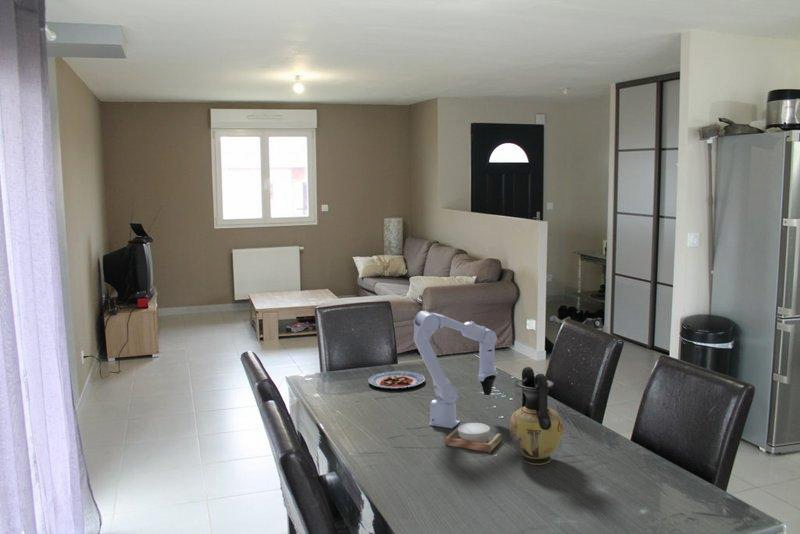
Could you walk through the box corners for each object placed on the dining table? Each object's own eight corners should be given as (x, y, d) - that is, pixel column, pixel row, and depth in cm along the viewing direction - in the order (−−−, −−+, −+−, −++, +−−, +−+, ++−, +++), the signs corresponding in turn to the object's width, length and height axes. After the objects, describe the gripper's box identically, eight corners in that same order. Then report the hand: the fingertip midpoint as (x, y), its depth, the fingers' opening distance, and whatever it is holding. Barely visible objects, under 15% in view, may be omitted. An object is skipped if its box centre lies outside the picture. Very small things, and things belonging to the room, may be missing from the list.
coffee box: (532, 430, 253) (532, 387, 251) (514, 429, 254) (514, 386, 252) (533, 421, 262) (532, 380, 260) (515, 420, 263) (515, 379, 261)
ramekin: (451, 443, 243) (451, 428, 242) (470, 434, 251) (470, 420, 250) (477, 451, 235) (477, 436, 234) (496, 441, 243) (496, 427, 243)
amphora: (499, 454, 231) (498, 367, 227) (542, 445, 238) (541, 360, 234) (529, 474, 215) (529, 380, 211) (574, 464, 222) (574, 373, 218)
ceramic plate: (425, 391, 303) (425, 385, 302) (366, 392, 303) (366, 386, 303) (424, 375, 328) (424, 369, 328) (370, 376, 329) (369, 370, 329)
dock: (445, 444, 241) (445, 437, 241) (457, 434, 251) (457, 427, 251) (490, 452, 233) (489, 445, 233) (500, 440, 243) (500, 433, 243)
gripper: (490, 365, 255) (490, 401, 257) (503, 356, 268) (503, 390, 270) (472, 363, 259) (473, 399, 260) (486, 354, 271) (486, 388, 273)
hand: (487, 394), depth 265 cm, fingers closed
